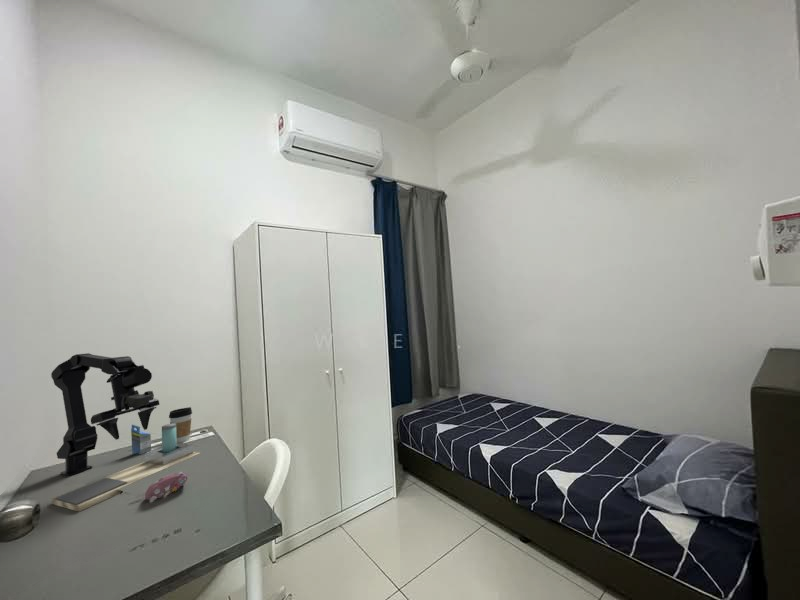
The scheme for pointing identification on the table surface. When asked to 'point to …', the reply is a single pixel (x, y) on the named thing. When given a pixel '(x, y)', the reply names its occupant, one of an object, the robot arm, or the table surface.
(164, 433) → the teal dowel
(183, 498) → the table surface
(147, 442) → the label tape box
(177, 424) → the coffee cup
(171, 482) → the video game controller
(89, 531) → the table surface
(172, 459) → the square metal frame plate
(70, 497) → the dark gray rubber pad
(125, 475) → the birch board
